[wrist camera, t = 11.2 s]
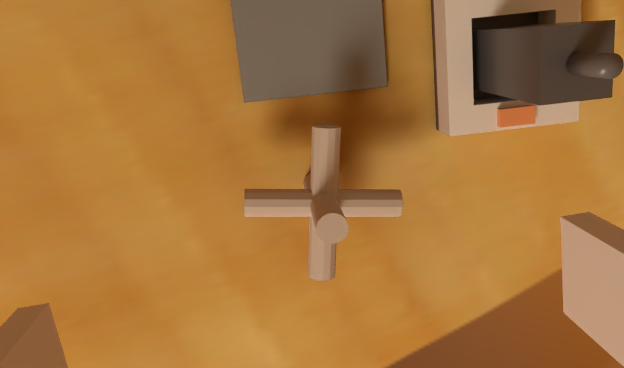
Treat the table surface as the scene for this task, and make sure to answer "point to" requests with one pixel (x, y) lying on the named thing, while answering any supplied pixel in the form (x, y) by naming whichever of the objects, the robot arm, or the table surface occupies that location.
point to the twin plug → (547, 61)
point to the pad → (308, 47)
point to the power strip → (459, 65)
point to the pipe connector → (323, 202)
